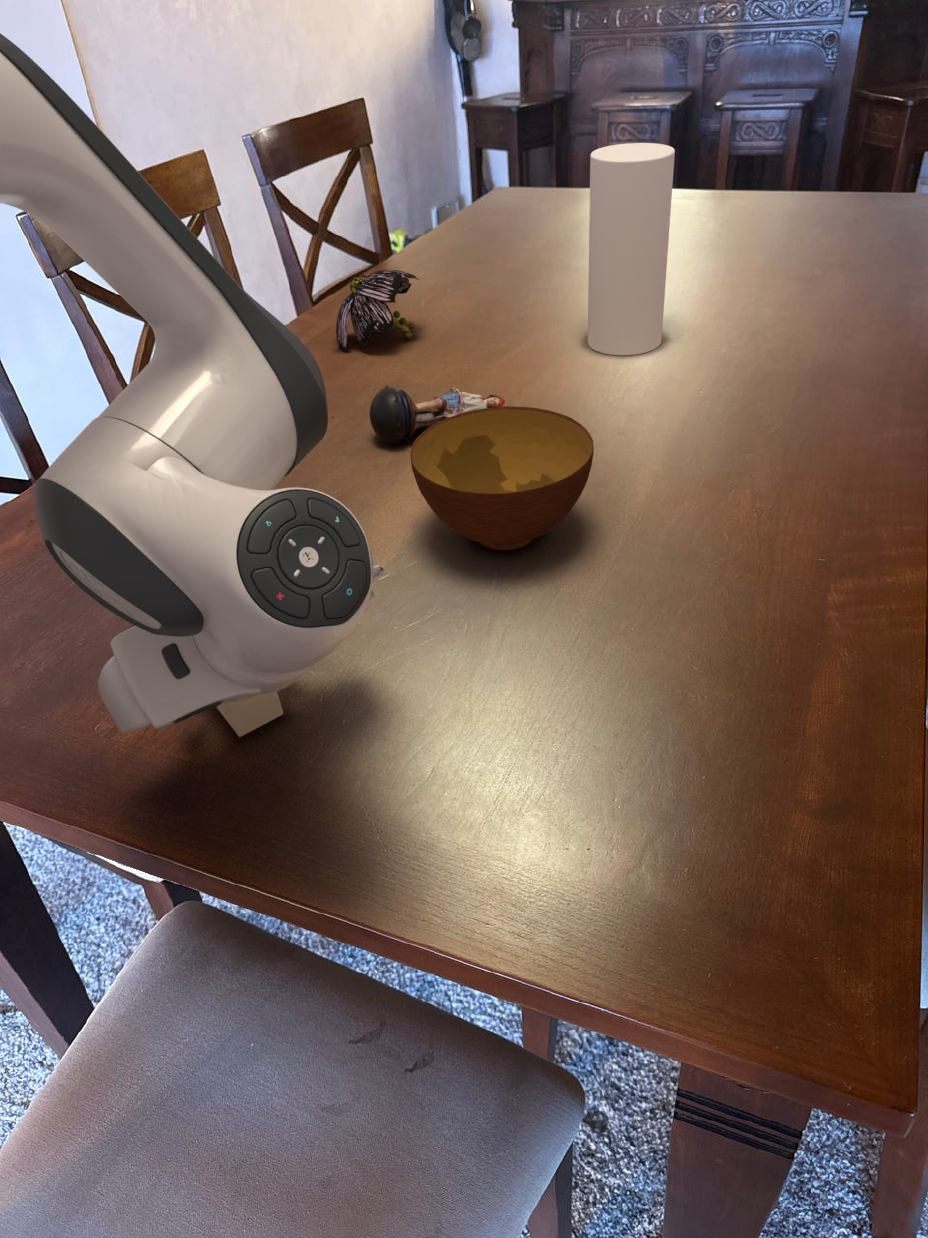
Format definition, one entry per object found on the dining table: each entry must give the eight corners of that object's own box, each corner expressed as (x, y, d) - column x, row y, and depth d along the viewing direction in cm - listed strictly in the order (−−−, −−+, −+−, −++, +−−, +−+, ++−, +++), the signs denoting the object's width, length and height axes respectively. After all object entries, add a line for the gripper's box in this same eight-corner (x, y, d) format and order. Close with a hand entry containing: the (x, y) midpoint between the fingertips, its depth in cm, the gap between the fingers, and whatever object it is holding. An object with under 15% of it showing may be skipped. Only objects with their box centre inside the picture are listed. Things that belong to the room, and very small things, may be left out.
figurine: (363, 374, 105) (501, 362, 110) (361, 419, 110) (494, 405, 115) (378, 412, 100) (522, 398, 105) (376, 457, 105) (513, 441, 110)
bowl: (586, 588, 81) (587, 495, 75) (404, 580, 84) (391, 491, 78) (596, 491, 94) (598, 406, 88) (438, 487, 98) (430, 405, 91)
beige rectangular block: (239, 737, 69) (210, 653, 64) (214, 704, 72) (184, 621, 67) (283, 714, 71) (259, 630, 65) (256, 682, 74) (231, 600, 69)
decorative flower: (350, 258, 136) (419, 238, 126) (388, 321, 143) (456, 307, 133) (299, 313, 129) (368, 297, 120) (342, 377, 136) (410, 366, 127)
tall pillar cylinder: (573, 345, 127) (573, 156, 111) (614, 322, 133) (621, 139, 117) (634, 361, 121) (644, 163, 105) (675, 336, 127) (690, 145, 111)
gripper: (369, 523, 61) (325, 574, 74) (84, 649, 52) (88, 684, 65) (411, 601, 61) (360, 640, 73) (132, 741, 52) (128, 758, 65)
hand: (231, 661), depth 69 cm, fingers open, 7 cm apart
